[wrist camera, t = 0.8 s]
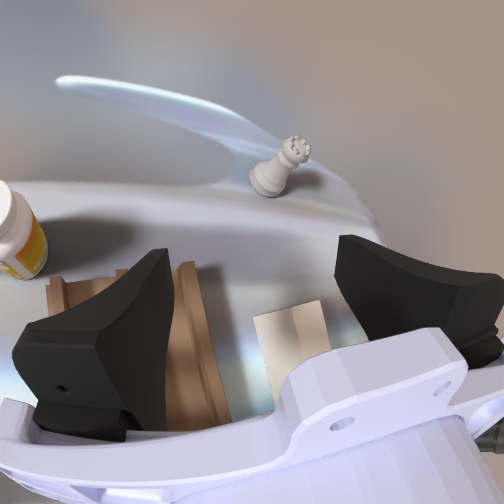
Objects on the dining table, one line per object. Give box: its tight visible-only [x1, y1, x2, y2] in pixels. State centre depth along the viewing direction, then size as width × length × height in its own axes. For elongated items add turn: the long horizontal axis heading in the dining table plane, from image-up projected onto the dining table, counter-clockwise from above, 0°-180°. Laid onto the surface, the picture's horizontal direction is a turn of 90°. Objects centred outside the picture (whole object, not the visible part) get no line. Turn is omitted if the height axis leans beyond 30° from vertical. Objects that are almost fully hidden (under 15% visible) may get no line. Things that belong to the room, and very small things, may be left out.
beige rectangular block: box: [253, 300, 331, 410], centre depth 25 cm, size 10×3×7 cm, turn 14°
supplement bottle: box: [0, 180, 48, 280], centre depth 16 cm, size 5×5×10 cm
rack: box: [46, 261, 232, 432], centre depth 21 cm, size 15×13×4 cm
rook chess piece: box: [249, 135, 311, 197], centre depth 31 cm, size 4×4×8 cm
